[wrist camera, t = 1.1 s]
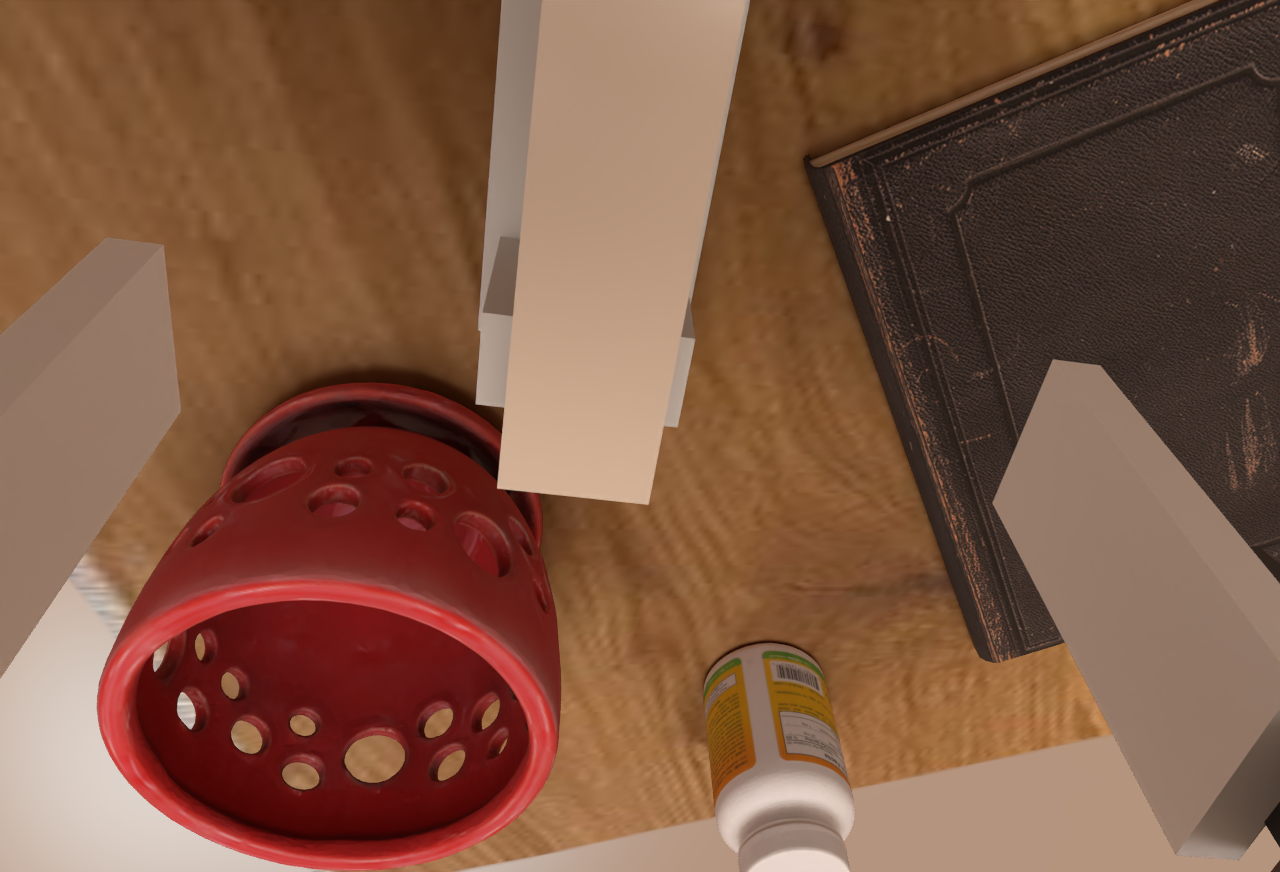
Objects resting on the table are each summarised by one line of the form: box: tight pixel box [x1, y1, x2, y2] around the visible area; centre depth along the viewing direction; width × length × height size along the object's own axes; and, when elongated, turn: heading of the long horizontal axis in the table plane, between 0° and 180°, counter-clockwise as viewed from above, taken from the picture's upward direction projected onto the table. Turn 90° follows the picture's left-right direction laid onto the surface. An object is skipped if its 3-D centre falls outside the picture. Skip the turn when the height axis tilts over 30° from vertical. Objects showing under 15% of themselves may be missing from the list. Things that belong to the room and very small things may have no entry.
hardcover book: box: [804, 0, 1280, 663], centre depth 36 cm, size 16×23×2 cm
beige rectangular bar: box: [497, 0, 746, 505], centre depth 24 cm, size 17×4×4 cm, turn 171°
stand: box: [476, 0, 750, 427], centre depth 28 cm, size 18×7×6 cm, turn 171°
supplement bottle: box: [703, 643, 855, 872], centre depth 41 cm, size 5×5×10 cm
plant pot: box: [97, 383, 561, 871], centre depth 34 cm, size 13×13×12 cm
